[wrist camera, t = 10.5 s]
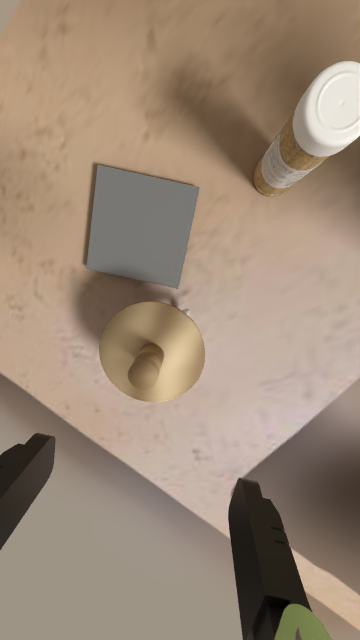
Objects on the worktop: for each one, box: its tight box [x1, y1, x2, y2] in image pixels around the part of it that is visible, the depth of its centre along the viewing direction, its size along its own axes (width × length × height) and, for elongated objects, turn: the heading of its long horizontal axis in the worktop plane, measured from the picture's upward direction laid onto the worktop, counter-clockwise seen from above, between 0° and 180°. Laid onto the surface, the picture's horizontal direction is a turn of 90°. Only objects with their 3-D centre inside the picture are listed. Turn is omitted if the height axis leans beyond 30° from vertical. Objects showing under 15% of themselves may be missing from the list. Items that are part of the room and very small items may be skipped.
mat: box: [86, 165, 199, 289], centre depth 29 cm, size 12×12×1 cm
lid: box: [99, 301, 205, 402], centre depth 25 cm, size 12×12×6 cm
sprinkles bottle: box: [253, 61, 360, 196], centre depth 21 cm, size 5×5×13 cm
